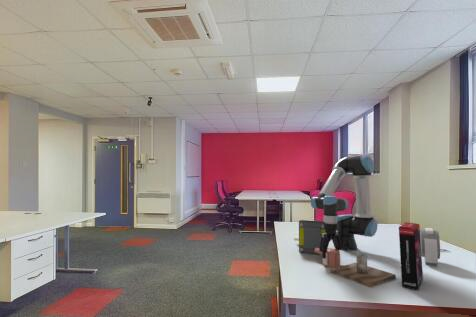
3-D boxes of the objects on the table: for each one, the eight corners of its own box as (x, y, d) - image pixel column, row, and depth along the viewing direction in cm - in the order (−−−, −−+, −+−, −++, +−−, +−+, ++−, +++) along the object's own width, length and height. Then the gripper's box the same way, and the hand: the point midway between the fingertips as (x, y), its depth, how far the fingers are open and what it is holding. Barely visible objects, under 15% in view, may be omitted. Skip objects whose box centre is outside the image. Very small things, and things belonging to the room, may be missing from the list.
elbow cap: (343, 265, 150) (343, 250, 151) (332, 268, 145) (332, 253, 146) (321, 258, 163) (321, 245, 164) (310, 260, 158) (310, 247, 159)
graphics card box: (418, 291, 117) (416, 228, 119) (400, 287, 121) (398, 226, 123) (423, 280, 130) (420, 223, 132) (406, 276, 134) (404, 221, 136)
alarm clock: (441, 269, 146) (439, 231, 147) (422, 266, 150) (421, 229, 152) (437, 260, 161) (436, 226, 162) (420, 258, 165) (419, 225, 167)
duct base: (330, 272, 139) (329, 253, 140) (355, 265, 151) (355, 248, 152) (370, 287, 121) (369, 265, 121) (395, 277, 133) (395, 258, 133)
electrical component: (298, 252, 176) (298, 221, 177) (300, 248, 185) (300, 219, 187) (326, 255, 169) (325, 223, 171) (327, 251, 178) (327, 221, 180)
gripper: (322, 225, 144) (323, 267, 143) (348, 222, 156) (348, 261, 155) (312, 223, 151) (312, 263, 149) (337, 220, 163) (337, 257, 161)
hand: (331, 262), depth 152 cm, fingers closed on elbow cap, 9 cm apart
